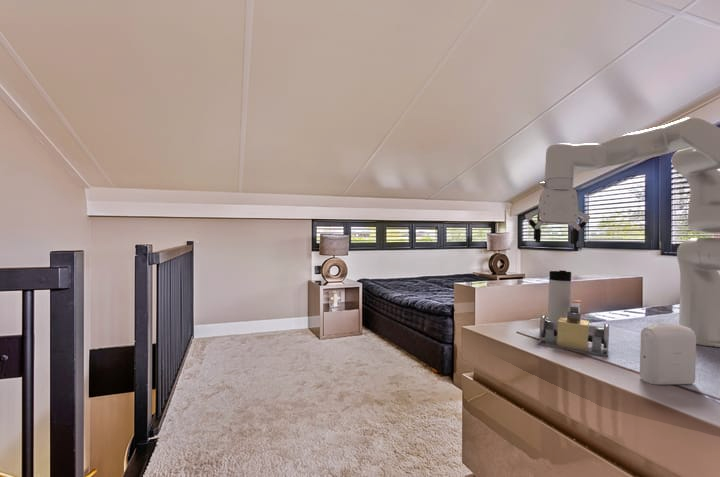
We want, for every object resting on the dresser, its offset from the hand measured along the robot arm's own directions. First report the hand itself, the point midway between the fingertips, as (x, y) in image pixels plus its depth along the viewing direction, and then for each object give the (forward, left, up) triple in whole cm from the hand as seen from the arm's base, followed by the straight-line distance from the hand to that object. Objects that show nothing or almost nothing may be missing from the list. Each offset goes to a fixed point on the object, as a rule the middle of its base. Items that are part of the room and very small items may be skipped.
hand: (555, 243), depth 104 cm
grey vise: (-6, +5, -29) cm, 29 cm away
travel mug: (-1, -11, -29) cm, 31 cm away
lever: (-6, -1, -21) cm, 22 cm away
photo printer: (-24, +21, -29) cm, 43 cm away
